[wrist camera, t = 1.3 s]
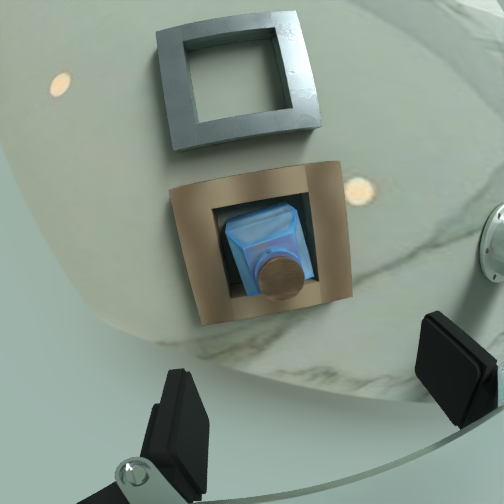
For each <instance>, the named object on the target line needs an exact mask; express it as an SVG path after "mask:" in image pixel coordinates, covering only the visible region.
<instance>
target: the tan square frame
mask: <svg viewBox="0 0 504 504" xmlns="http://www.w3.org/2000/svg"><path fill="white" fill-rule="evenodd" d="M298 193H301V196H302V203H303V210H304V217H305V225H306V232H307V240H308V248H309V257H310V261H311V265H312V269H313V273H314V277H311V278H308V279H305V282H304V286H303V288H302V290H301V291H300V293H299V294H297V295H296V296H295V297H294V298H292V299H290V300H287V301H281V302H280V301H273V300H271V299H269V298H267V297H266V296H265V295H264V294H263V293H262V294H258V295H255V296H251V297H248V296H247V293H246V290H245V288H244V285H243V283H240V284H235V285H231V284H230V280H229V275H228V270H227V266H226V261H225V256H224V251H223V247H222V242H221V237H220V232H219V227H218V222H217V217H216V212H215V208H218V207H224V206H229V205H234V204H240V203H245V202H251V201H256V200H262V199H268V198H274V197H280V196H286V195H292V194H298ZM169 194H170V199H171V203H172V208H173V213H174V217H175V222H176V226H177V231H178V235H179V239H180V243H181V248H182V252H183V256H184V260H185V264H186V268H187V272H188V276H189V280H190V283H191V287H192V291H193V295H194V298H195V302H196V306H197V309H198V313H199V317H200V320H201V324H202V326H203V325H210V324H216V323H222V322H228V321H234V320H240V319H246V318H252V317H257V316H263V315H268V314H274V313H279V312H284V311H289V310H294V309H299V308H304V307H309V306H313V305H318V304H323V303H327V302H332V301H336V300H340V299H345V298H349V297H353V295H352V274H351V258H350V244H349V232H348V222H347V212H346V203H345V194H344V186H343V178H342V171H341V164H340V161H325V162H317V163H309V164H302V165H295V166H288V167H281V168H275V169H269V170H263V171H257V172H251V173H245V174H239V175H234V176H229V177H223V178H218V179H213V180H208V181H203V182H198V183H194V184H189V185H184V186H180V187H176V188H173V189H170V190H169Z"/></svg>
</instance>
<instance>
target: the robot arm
mask: <svg viewBox="0 0 504 504" xmlns="http://www.w3.org/2000/svg"><path fill="white" fill-rule="evenodd" d="M480 264H481V268H482V271H483V273H484V275H485V277H486V278H487V279H489V280H490V281H492V282H495V283H500V282H503V281H504V203H503V204H501V205H499V206H498V207H497V208H496V209H495V210H494V211H493V212H492V214H491V215H490V217H489V219H488V221H487V223H486V225H485V228H484V231H483V234H482V239H481V244H480ZM496 363H497V360H496V359H495V358H494V357H493V356H492V355H491V354H489V353H488V352H487V351H486V350H485V349H484V348H483V347H481V346H480V345H479V344H478V343H477V342H476V341H475V340H473V339H472V338H471V337H470V336H469V335H467V334H466V333H465V332H464V331H463V330H462V329H460V328H459V327H458V326H457V325H456V324H454V323H453V322H452V321H451V320H449V319H448V318H447V317H446V316H445V315H443V314H442V313H441V312H440V311H435V312H432V313H429V314H426V315H425V317H424V319H423V320H422V323H421V331H420V339H419V346H418V353H417V359H416V365H415V374H416V376H417V377H418V379H419V380H420V381H421V382H422V384H423V385H424V386H425V388H426V389H427V390H428V391H429V393H430V394H431V395H432V397H433V398H434V399H435V401H436V402H437V403H438V405H439V406H440V407H441V409H442V410H443V411H444V412H445V414H446V415H447V417H448V418H449V419H450V421H451V422H452V423H453V424H454V425H455V426H458V427H459V428H460V431H458V432H456V433H454V434H452V435H450V436H448V437H447V438H444V439H443V440H441V441H439V442H437V443H435V444H432V445H430V446H428V447H426V448H424V449H422V450H420V451H417V452H415V453H413V454H411V455H408V456H406V457H403V458H401V459H399V460H396V461H394V462H391V463H388V464H386V465H383V466H380V467H378V468H375V469H372V470H369V471H366V472H363V473H360V474H357V475H353V476H350V477H347V478H343V479H340V480H336V481H332V482H329V483H325V484H321V485H317V486H313V487H308V488H303V489H299V490H293V491H288V492H282V493H276V494H270V495H263V496H256V497H249V498H240V499H230V500H229V499H228V500H218V501H208V502H197V503H193V501H201V500H202V494H205V493H206V490H207V467H208V445H209V418H208V416H207V413H206V411H205V408H204V406H203V403H202V401H201V398H200V396H199V393H198V391H197V388H196V386H195V383H194V381H193V378H192V375H191V373H190V372H186V371H185V370H184V369H183V368H182V369H173V370H169V371H168V374H167V378H166V382H165V385H164V389H163V393H162V397H161V401H160V403H159V404H154V406H153V408H152V411H151V415H150V419H149V423H148V426H147V430H146V434H145V438H144V441H143V446H142V450H141V454H140V457H132V458H129V459H127V460H125V461H123V462H122V463H120V465H119V466H118V467H117V469H116V471H115V480H116V481H115V482H114V483H112V484H110V485H109V486H107V487H105V488H103V489H102V490H100V491H98V492H97V493H95V494H93V495H91V496H89V497H87V498H86V499H84V500H82V501H80V502H78V503H77V504H504V361H503V362H502V363H501V364H500V365H499V367H498V366H497V365H496Z"/></svg>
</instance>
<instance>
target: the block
mask: <svg viewBox="0 0 504 504" xmlns="http://www.w3.org/2000/svg"><path fill="white" fill-rule="evenodd" d="M261 39H272V42H273V47H274V51H275V55H276V60H277V64H278V69H279V74H280V78H281V83H282V88H283V93H284V98H285V103H286V108H287V109H283V110H274V111H267V112H260V113H253V114H247V115H240V116H234V117H229V118H223V119H218V120H213V121H208V122H203V123H199V121H198V116H197V110H196V104H195V98H194V92H193V86H192V80H191V74H190V68H189V62H188V55H187V52H188V51H192V50H197V49H202V48H207V47H212V46H218V45H224V44H230V43H237V42H244V41H252V40H261ZM156 40H157V48H158V56H159V64H160V72H161V79H162V86H163V93H164V99H165V106H166V112H167V118H168V124H169V130H170V136H171V142H172V147H173V151H176V152H182V151H186V150H191V149H195V148H200V147H205V146H210V145H215V144H220V143H225V142H231V141H236V140H242V139H248V138H254V137H260V136H267V135H274V134H281V133H289V132H297V131H305V130H314V129H317V128H319V127H321V126H322V120H321V115H320V110H319V105H318V100H317V95H316V90H315V85H314V81H313V76H312V72H311V68H310V63H309V59H308V55H307V51H306V47H305V43H304V39H303V35H302V32H301V28H300V24H299V21H298V17H297V14H296V11H277V12H263V13H252V14H243V15H235V16H228V17H221V18H215V19H210V20H204V21H199V22H194V23H189V24H185V25H181V26H176V27H172V28H168V29H165V30H161V31H157V32H156Z"/></svg>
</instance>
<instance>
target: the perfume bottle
mask: <svg viewBox="0 0 504 504" xmlns="http://www.w3.org/2000/svg"><path fill="white" fill-rule="evenodd" d="M225 233H226V236H227V239H228V242H229V244H230V247H231V250H232V253H233V256H234V259H235V262H236V265H237V268H238V270H239V273H240V276H241V279H242V282H243V285H244V288H245V290H246V293H247V296H248V297H251V296H255V295H258V294H262V293H263V294H264V295H265V296H266V297H267V298H269V299H271V300H273V301H280V302H281V301H287V300H290V299H292V298H294V297H295V296H296V295H297V294H299V293H300V291H301V290H302V288H303V286H304V282H305V279H308V278H311V277H314V273H313V269H312V265H311V261H310V258H309V254H308V250H307V246H306V242H305V239H304V235H303V231H302V227H301V224H300V220H299V217H298V213H297V210H296V209H295V208H293V207H292V206H290V205H289V204H287V203H286V202H281V203H278V204H275V205H271V206H268V207H265V208H262V209H259V210H255V211H252V212H249V213H246V214H243V215H240V216H237V217H234V218H230V219H227V224H226V231H225Z"/></svg>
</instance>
